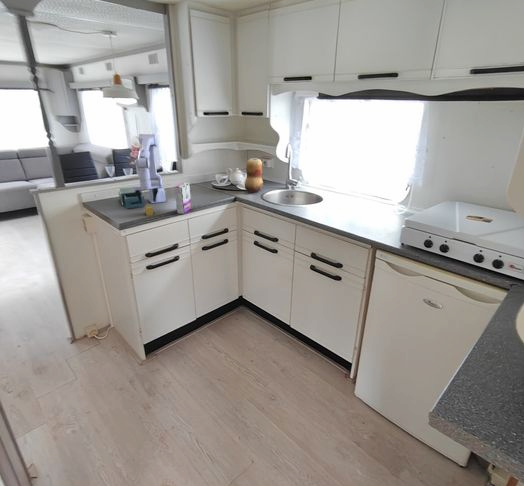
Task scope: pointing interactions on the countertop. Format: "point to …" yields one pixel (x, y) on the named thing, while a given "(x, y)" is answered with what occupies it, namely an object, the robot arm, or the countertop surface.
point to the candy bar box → (183, 198)
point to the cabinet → (124, 191)
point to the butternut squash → (254, 175)
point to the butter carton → (148, 210)
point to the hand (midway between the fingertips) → (147, 202)
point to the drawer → (133, 200)
